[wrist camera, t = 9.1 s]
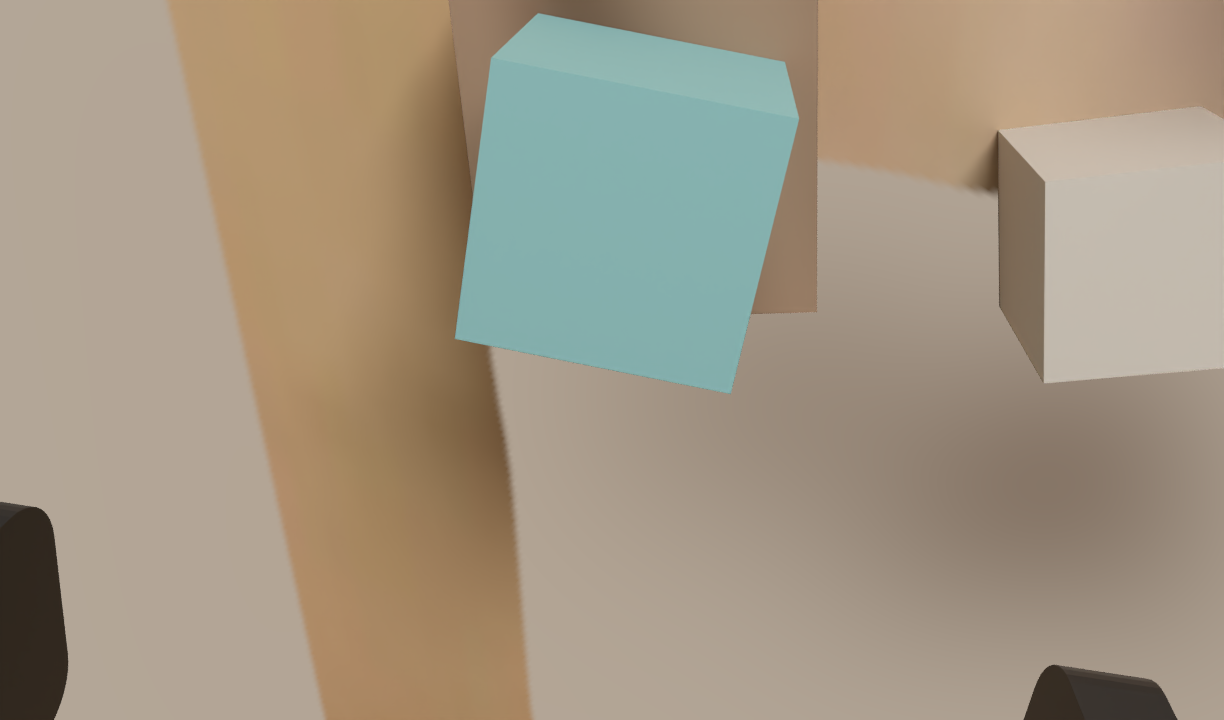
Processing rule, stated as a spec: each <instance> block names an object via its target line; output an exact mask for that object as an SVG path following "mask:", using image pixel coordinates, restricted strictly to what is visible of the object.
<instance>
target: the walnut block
mask: <svg viewBox="0 0 1224 720" xmlns="http://www.w3.org/2000/svg"><path fill="white" fill-rule="evenodd" d="M449 7H450V16H451V24H452V32H453V40H454V48H455V56H456V64H457V72H458V80H459V89H460V97H461V105H462V113H463V121H464V129H465V137H466V145H467V153H468V162H469V170H470V178H471V186H472V194H474V187H475V179H476V171H477V163H478V156H479V148H480V140H481V132H482V124H483V117H484V109H485V101H486V93H487V86H488V78H489V70H490V62H491V57H492V56H493V55H495V54H496V53H497V52H498V51H499V50H500V49H501V48H502V47H503V46H504V45H505V44H506V43H507V42H508V41H509V40H510V39H511V38H512V37H513V36H514V35H516V34H517V33H518V32H519V31H520V30H521V29H522V28H523V27H524V26H525V25H526V24H527V23H528V22H529V21H530V20H531V19H532V18H533V17H534V16H536V15H537V14H538V13H540V14H545V15H550V16H555V17H560V18H565V19H570V20H575V21H580V22H585V23H591V24H596V25H601V26H606V27H611V28H616V29H621V30H626V31H631V32H636V33H641V34H646V35H651V36H656V37H661V38H666V39H672V40H677V41H682V42H687V43H692V44H697V45H702V46H707V47H712V48H717V49H722V50H727V51H732V52H737V53H742V54H747V55H753V56H758V57H763V58H768V59H773V60H778V61H783V62H785V64H786V68H787V72H788V76H789V80H790V84H791V88H792V92H793V96H794V100H795V104H796V108H797V112H798V116H799V122H798V126H797V130H796V134H795V138H794V142H793V146H792V150H791V154H790V158H789V162H788V166H787V170H786V174H785V178H784V182H783V186H782V190H781V194H780V198H779V202H778V206H777V210H776V214H775V218H774V222H773V226H772V230H771V234H770V238H769V242H768V246H767V250H766V254H765V258H764V262H763V266H762V270H761V274H760V278H759V282H758V286H757V290H756V294H755V298H754V302H753V306H752V310H751V314H762V313H794V312H795V313H797V312H817V106H818V0H449Z"/></svg>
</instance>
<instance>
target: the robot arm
mask: <svg viewBox="0 0 1224 720" xmlns="http://www.w3.org/2000/svg"><path fill="white" fill-rule="evenodd" d="M67 673H68V652H67V643H66V635H65V626H64V617H63V609H62V601H61V591H60V583H59V573H58V565H57V556H56V548H55V539H54V532H53V527H52V525H51V521H50V519H49V517H48V516H47V514H46V513H45V512H44V511H43V510H41V509H39V508H37V507H31V506H24V505H17V504H11V503H4V502H0V720H54V718H55V716H56V714H57V711H58V709H59V706H60V703H61V700H62V697H63V694H64V689H65V685H66V680H67ZM1024 720H1177V718H1176V716H1175V714H1174V712H1173V710H1172V708H1171V706H1170V704H1169V702H1168V700H1167V698H1166V696H1165V694H1164V693H1163V691H1162V689H1161V688H1160V687H1159V686H1158V685H1157V683H1155V682H1154V681H1152V680H1149V679H1144V678H1138V677H1131V676H1124V675H1118V674H1111V673H1105V672H1098V671H1092V670H1085V669H1078V668H1072V667H1065V666H1059V665H1051V666H1049V667H1047V668H1046V669H1045V670H1044V671H1043V673H1042V674H1041V675H1040V677H1039V679H1038V681H1037V684H1036V686H1035V688H1034V692H1033V694H1032V697H1031V700H1030V703H1029V706H1028V709H1027V712H1026V715H1025V718H1024Z"/></svg>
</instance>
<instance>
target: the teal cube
mask: <svg viewBox="0 0 1224 720" xmlns="http://www.w3.org/2000/svg"><path fill="white" fill-rule="evenodd" d="M798 122H799V116H798V112H797V108H796V104H795V100H794V96H793V92H792V88H791V84H790V80H789V76H788V72H787V68H786V64H785V62H783V61H778V60H773V59H768V58H763V57H758V56H753V55H747V54H742V53H737V52H732V51H727V50H722V49H717V48H712V47H707V46H702V45H697V44H692V43H687V42H682V41H677V40H672V39H666V38H661V37H656V36H651V35H646V34H641V33H636V32H631V31H626V30H621V29H616V28H611V27H606V26H601V25H596V24H591V23H585V22H580V21H575V20H570V19H565V18H560V17H555V16H550V15H545V14H540V13H538V14H537V15H536V16H534V17H533V18H532V19H531V20H530V21H529V22H528V23H527V24H526V25H525V26H524V27H523V28H522V29H521V30H520V31H519V32H518V33H517V34H516V35H514V36H513V37H512V38H511V39H510V40H509V41H508V42H507V43H506V44H505V45H504V46H503V47H502V48H501V49H500V50H499V51H498V52H497V53H496V54H495V55H493V56H492V57H491V62H490V70H489V78H488V86H487V93H486V101H485V109H484V117H483V124H482V132H481V140H480V148H479V156H478V163H477V171H476V179H475V187H474V194H473V202H472V210H471V218H470V225H469V233H468V241H467V249H466V256H465V264H464V272H463V280H462V287H461V295H460V303H459V311H458V319H457V326H456V334H455V339H458V340H463V341H468V342H473V343H478V344H483V345H488V346H493V347H498V348H504V349H509V350H514V351H518V352H523V353H528V354H533V355H539V356H543V357H549V358H553V359H558V360H564V361H568V362H573V363H578V364H583V365H588V366H593V367H598V368H604V369H608V370H613V371H618V372H623V373H629V374H633V375H639V376H644V377H648V378H653V379H659V380H663V381H668V382H674V383H678V384H683V385H688V386H693V387H699V388H703V389H709V390H713V391H718V392H724V393H728V394H731V391H732V386H733V383H734V378H735V374H736V370H737V366H738V362H739V358H740V354H741V350H742V346H743V342H744V338H745V334H746V330H747V326H748V322H749V318H750V314H751V310H752V306H753V302H754V298H755V294H756V290H757V286H758V282H759V278H760V274H761V270H762V266H763V262H764V258H765V254H766V250H767V246H768V242H769V238H770V234H771V230H772V226H773V222H774V218H775V214H776V210H777V206H778V202H779V198H780V194H781V190H782V186H783V182H784V178H785V174H786V170H787V166H788V162H789V158H790V154H791V150H792V146H793V142H794V138H795V134H796V130H797V126H798Z"/></svg>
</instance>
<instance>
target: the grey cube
mask: <svg viewBox="0 0 1224 720" xmlns="http://www.w3.org/2000/svg"><path fill="white" fill-rule="evenodd" d="M998 169H999V194H998V232H999V233H998V235H999V306H1000V308H1001V310H1002V312H1003V313H1004V315H1005V317H1006V319H1007V320H1008V322H1009V324H1010V326H1011V327H1012V329H1013V331H1014V333H1015V334H1016V336H1017V338H1018V340H1019V341H1020V343H1021V345H1022V346H1023V348H1024V350H1025V352H1026V354H1027V355H1028V357H1029V359H1030V361H1031V362H1032V364H1033V366H1034V368H1035V369H1036V371H1037V373H1038V374H1039V376H1040V378H1041V379H1042V381H1043V383H1044V384H1046V383H1057V382H1068V381H1080V380H1092V379H1103V378H1114V377H1126V376H1137V375H1149V374H1160V373H1172V372H1183V371H1195V370H1206V369H1217V368H1224V119H1223V118H1221V117H1219V116H1217V115H1216V114H1214V113H1212V112H1210V111H1209V110H1207V109H1205V108H1203V107H1202V106H1197V107H1189V108H1181V109H1172V110H1164V111H1155V112H1147V113H1138V114H1130V115H1122V116H1113V117H1105V118H1096V119H1088V120H1079V121H1071V122H1063V123H1054V124H1046V125H1037V126H1029V127H1020V128H1012V129H1004V130H998Z"/></svg>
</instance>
